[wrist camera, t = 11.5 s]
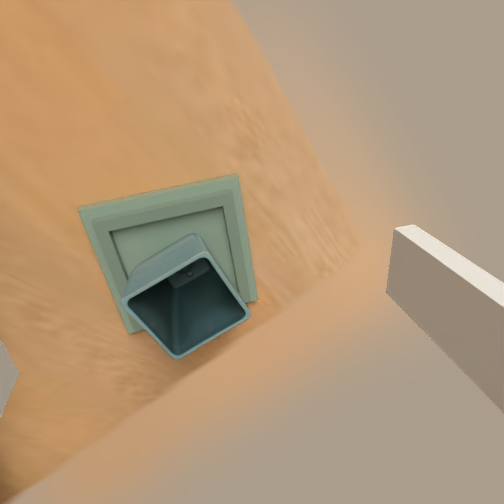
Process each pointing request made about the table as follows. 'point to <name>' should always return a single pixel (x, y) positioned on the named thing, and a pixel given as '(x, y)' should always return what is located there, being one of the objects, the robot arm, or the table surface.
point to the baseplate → (171, 232)
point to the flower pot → (183, 297)
